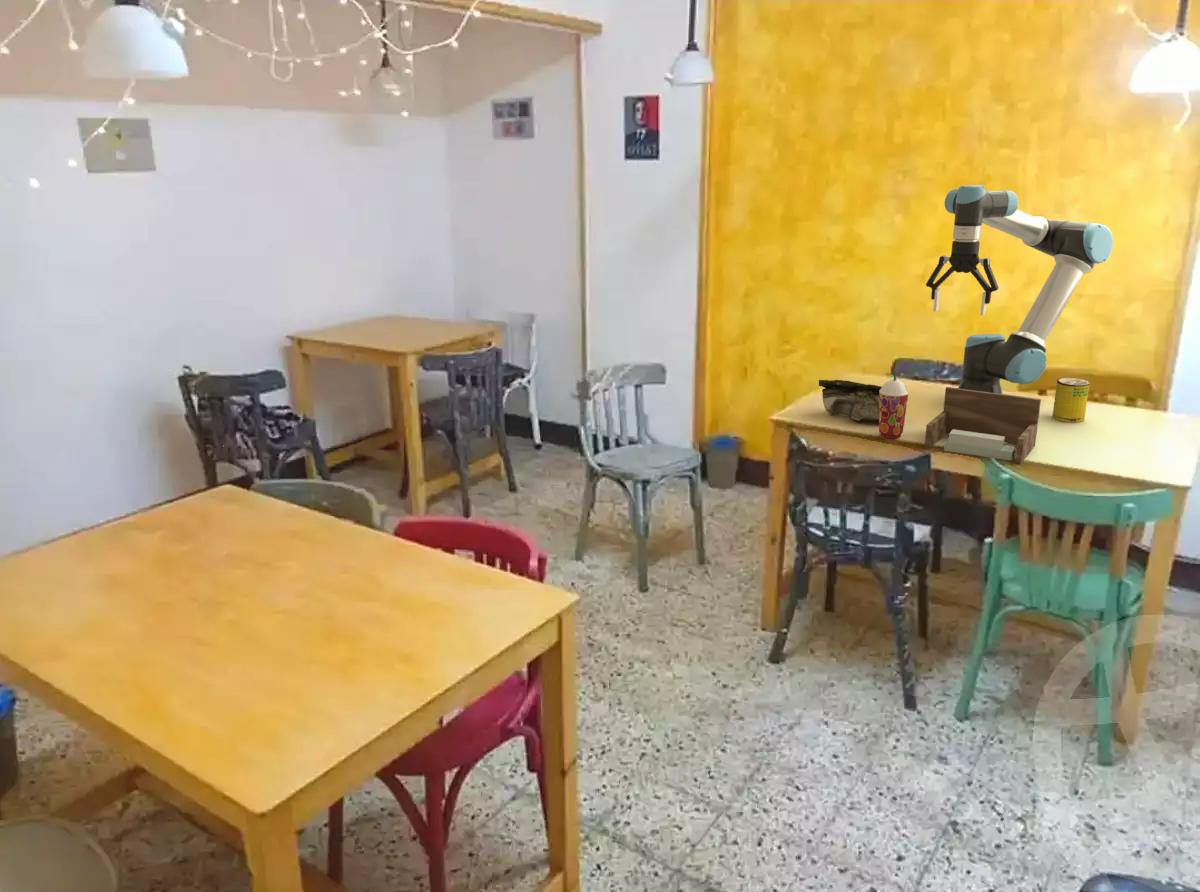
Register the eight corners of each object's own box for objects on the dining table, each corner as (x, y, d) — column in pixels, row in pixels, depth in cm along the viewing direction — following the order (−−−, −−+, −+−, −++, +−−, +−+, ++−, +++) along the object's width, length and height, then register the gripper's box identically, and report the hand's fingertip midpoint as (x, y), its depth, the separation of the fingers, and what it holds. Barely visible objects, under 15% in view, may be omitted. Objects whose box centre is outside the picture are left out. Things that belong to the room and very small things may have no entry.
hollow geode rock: (815, 425, 306) (802, 401, 295) (827, 393, 311) (815, 368, 300) (899, 437, 290) (889, 412, 279) (911, 403, 294) (901, 376, 283)
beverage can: (1088, 418, 292) (1093, 380, 288) (1078, 424, 286) (1084, 386, 282) (1057, 413, 298) (1062, 376, 294) (1048, 419, 292) (1053, 382, 288)
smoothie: (901, 431, 283) (907, 367, 277) (907, 440, 275) (913, 374, 269) (873, 431, 284) (878, 367, 278) (878, 440, 276) (883, 374, 270)
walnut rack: (942, 431, 282) (947, 386, 278) (1035, 445, 268) (1041, 398, 263) (924, 447, 268) (928, 401, 264) (1020, 463, 254) (1027, 414, 250)
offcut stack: (947, 447, 270) (949, 428, 268) (1014, 456, 260) (1016, 437, 259) (943, 451, 266) (945, 432, 264) (1011, 461, 257) (1013, 442, 255)
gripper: (919, 239, 276) (913, 311, 283) (1008, 243, 262) (999, 318, 269) (926, 237, 282) (920, 307, 288) (1014, 240, 268) (1006, 314, 275)
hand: (958, 312), depth 279 cm, fingers open, 13 cm apart
